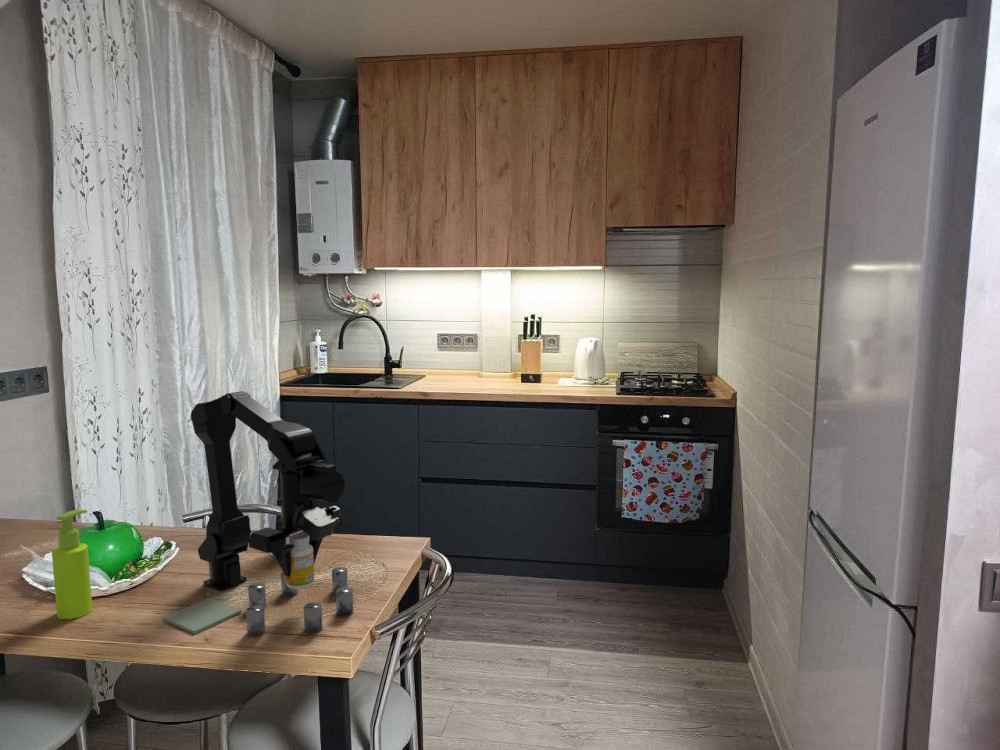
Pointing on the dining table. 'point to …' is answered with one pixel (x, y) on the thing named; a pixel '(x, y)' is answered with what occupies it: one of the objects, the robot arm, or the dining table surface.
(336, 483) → the robot arm
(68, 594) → the soap dispenser
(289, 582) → the supplement bottle
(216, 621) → the mat
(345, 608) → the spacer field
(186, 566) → the dining table surface
